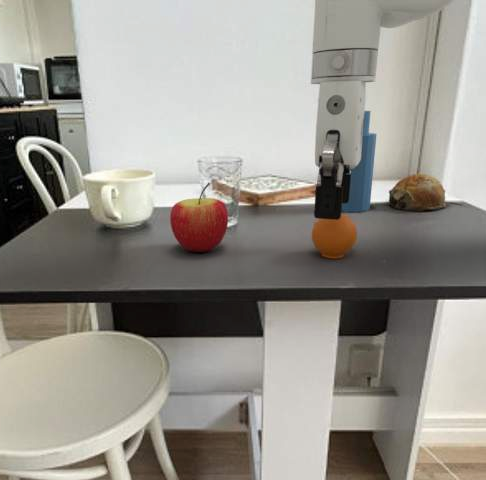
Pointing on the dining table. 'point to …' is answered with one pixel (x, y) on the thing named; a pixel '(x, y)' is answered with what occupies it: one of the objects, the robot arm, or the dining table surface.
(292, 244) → the dining table surface
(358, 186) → the bottle
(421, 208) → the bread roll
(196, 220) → the apple
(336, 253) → the orange
